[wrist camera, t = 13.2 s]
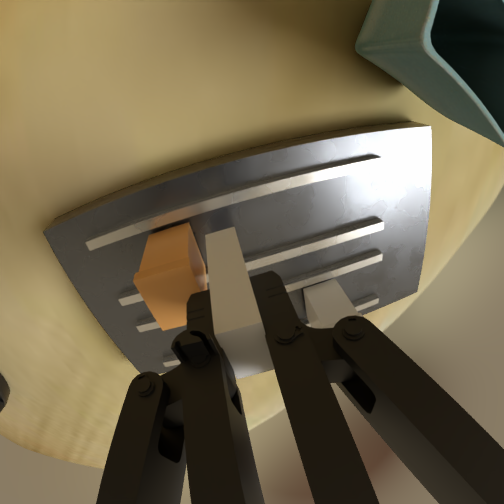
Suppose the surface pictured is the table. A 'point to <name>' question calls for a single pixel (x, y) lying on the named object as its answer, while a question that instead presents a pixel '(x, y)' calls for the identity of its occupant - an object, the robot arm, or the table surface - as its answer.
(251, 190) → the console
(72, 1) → the table surface
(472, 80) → the flower pot
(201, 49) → the table surface
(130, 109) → the table surface
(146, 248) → the fader orange
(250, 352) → the robot arm
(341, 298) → the fader ivory
